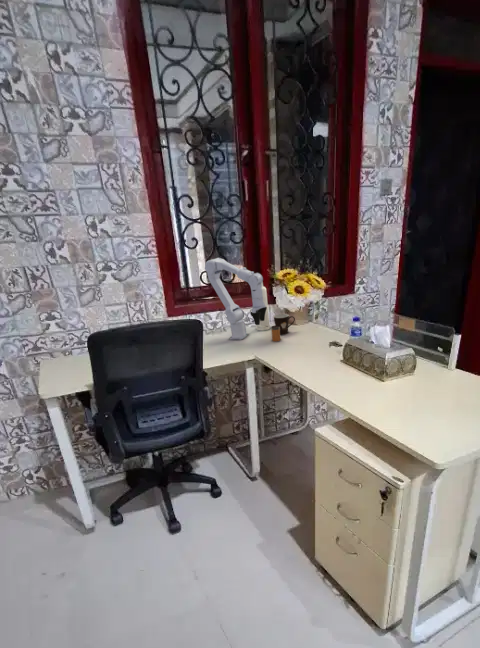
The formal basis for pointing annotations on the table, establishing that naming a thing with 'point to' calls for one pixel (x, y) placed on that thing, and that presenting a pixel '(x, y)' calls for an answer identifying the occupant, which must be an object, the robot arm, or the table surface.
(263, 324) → the bottle
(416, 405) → the table surface
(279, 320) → the coffee mug
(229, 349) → the table surface
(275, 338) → the amber jar
